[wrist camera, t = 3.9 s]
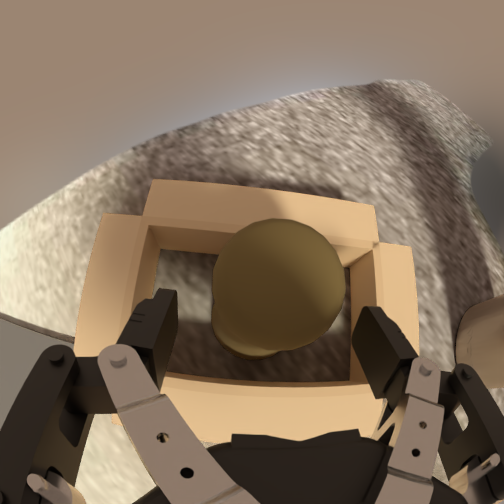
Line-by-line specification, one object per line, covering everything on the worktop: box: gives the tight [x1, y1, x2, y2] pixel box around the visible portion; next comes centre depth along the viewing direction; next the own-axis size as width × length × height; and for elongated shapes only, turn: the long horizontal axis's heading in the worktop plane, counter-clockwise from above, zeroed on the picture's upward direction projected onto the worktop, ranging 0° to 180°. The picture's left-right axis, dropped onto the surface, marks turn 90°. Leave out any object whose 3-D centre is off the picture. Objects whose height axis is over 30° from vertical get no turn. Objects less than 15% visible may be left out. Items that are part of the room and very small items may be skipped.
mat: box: [0, 318, 74, 430], centre depth 14 cm, size 11×11×1 cm
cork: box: [211, 218, 346, 360], centre depth 14 cm, size 6×6×11 cm
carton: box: [73, 179, 419, 443], centre depth 17 cm, size 22×16×4 cm
